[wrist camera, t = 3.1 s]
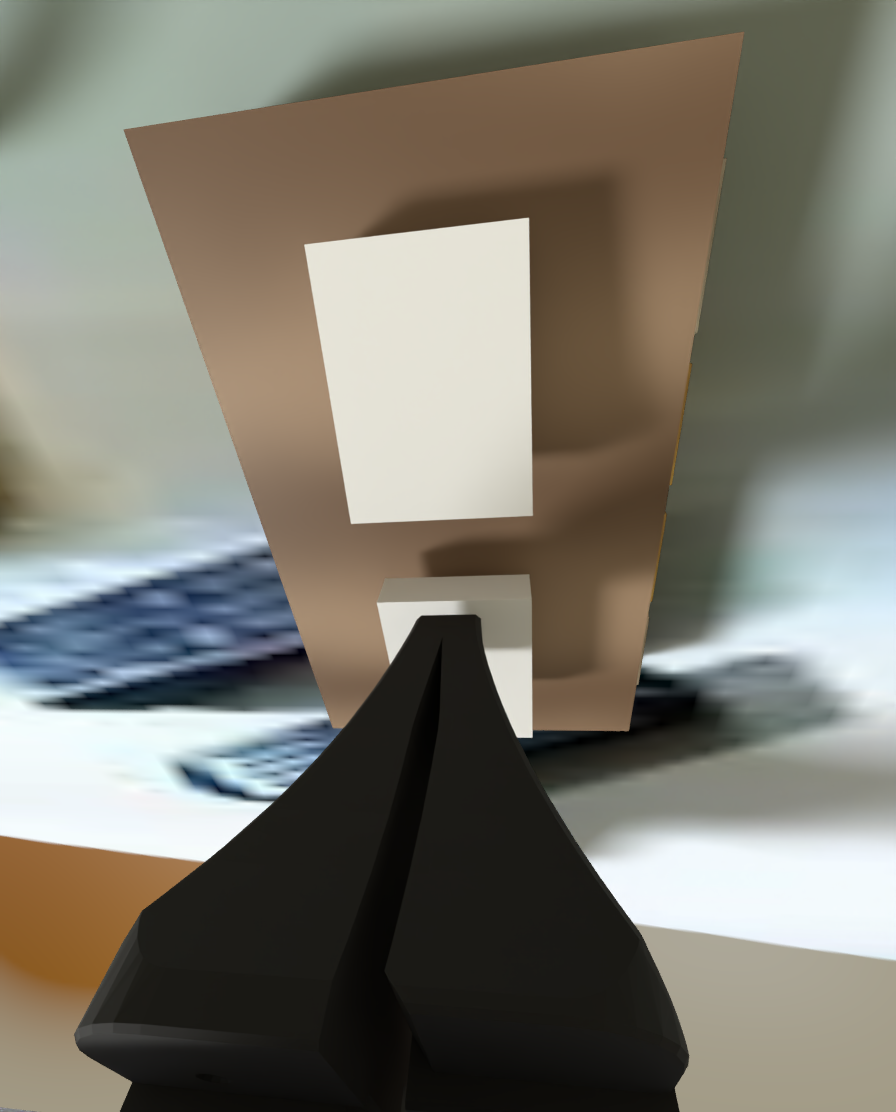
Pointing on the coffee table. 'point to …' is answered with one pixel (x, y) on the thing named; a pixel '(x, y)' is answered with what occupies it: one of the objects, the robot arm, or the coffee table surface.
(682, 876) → the coffee table surface
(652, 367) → the switch box
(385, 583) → the block
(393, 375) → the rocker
